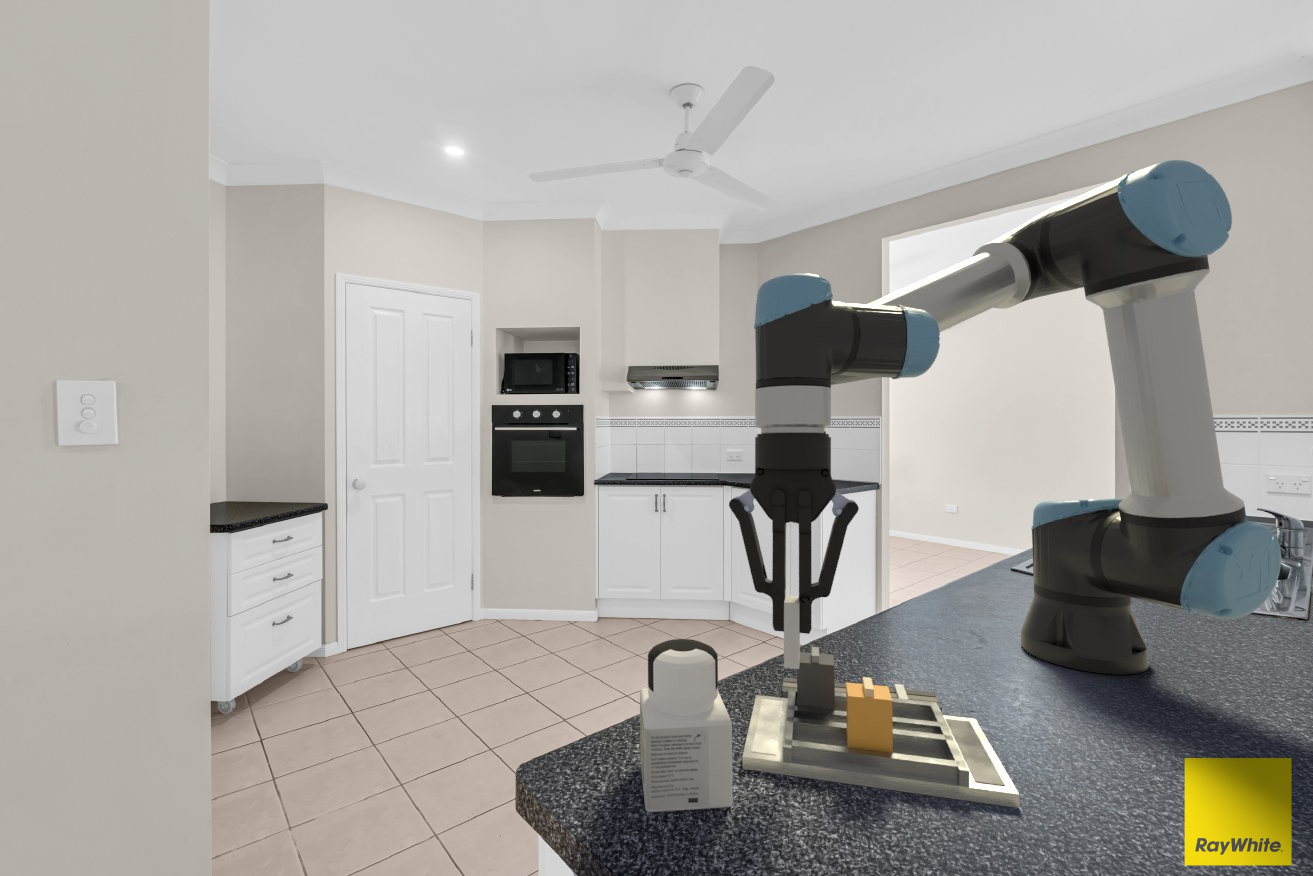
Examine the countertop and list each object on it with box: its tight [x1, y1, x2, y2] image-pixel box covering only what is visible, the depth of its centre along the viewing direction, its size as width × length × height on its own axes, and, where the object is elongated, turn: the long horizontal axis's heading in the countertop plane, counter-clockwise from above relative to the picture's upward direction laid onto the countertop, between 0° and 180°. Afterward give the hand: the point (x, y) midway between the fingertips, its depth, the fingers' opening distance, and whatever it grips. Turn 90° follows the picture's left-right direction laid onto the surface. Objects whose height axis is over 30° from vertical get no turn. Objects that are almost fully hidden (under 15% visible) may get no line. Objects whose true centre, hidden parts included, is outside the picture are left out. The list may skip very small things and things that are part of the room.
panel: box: [742, 687, 1020, 809], centre depth 60 cm, size 24×14×3 cm, turn 75°
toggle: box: [796, 646, 836, 710], centre depth 65 cm, size 4×3×7 cm
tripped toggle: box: [845, 676, 893, 753], centre depth 56 cm, size 4×3×7 cm
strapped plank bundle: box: [781, 677, 943, 713], centre depth 70 cm, size 18×5×2 cm, turn 75°
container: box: [639, 638, 733, 813], centre depth 54 cm, size 8×8×13 cm
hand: (792, 663), depth 58 cm, fingers closed
